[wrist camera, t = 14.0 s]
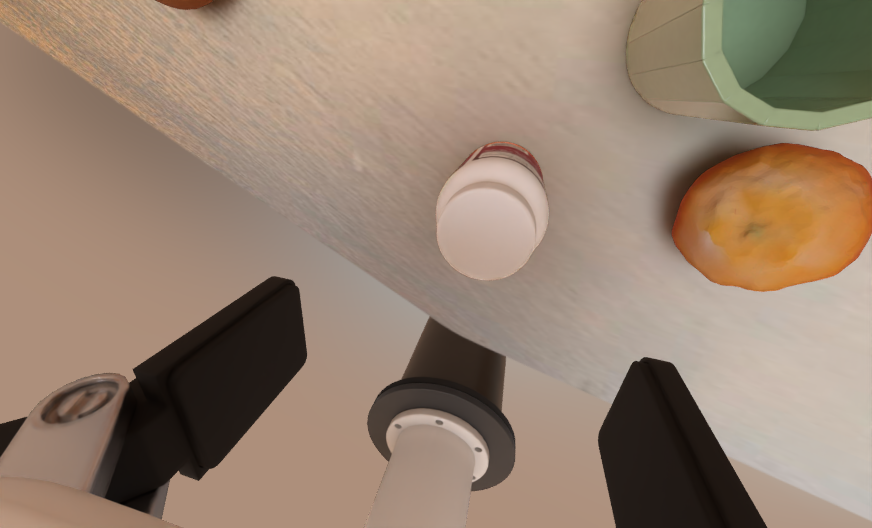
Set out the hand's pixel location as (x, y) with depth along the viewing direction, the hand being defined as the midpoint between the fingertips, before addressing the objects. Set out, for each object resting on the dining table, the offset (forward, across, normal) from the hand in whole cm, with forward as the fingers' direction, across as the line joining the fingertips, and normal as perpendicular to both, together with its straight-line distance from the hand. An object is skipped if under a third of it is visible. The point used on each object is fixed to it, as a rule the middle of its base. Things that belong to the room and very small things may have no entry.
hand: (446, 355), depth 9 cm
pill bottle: (+18, 0, -1) cm, 19 cm away
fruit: (+18, -15, -2) cm, 24 cm away
